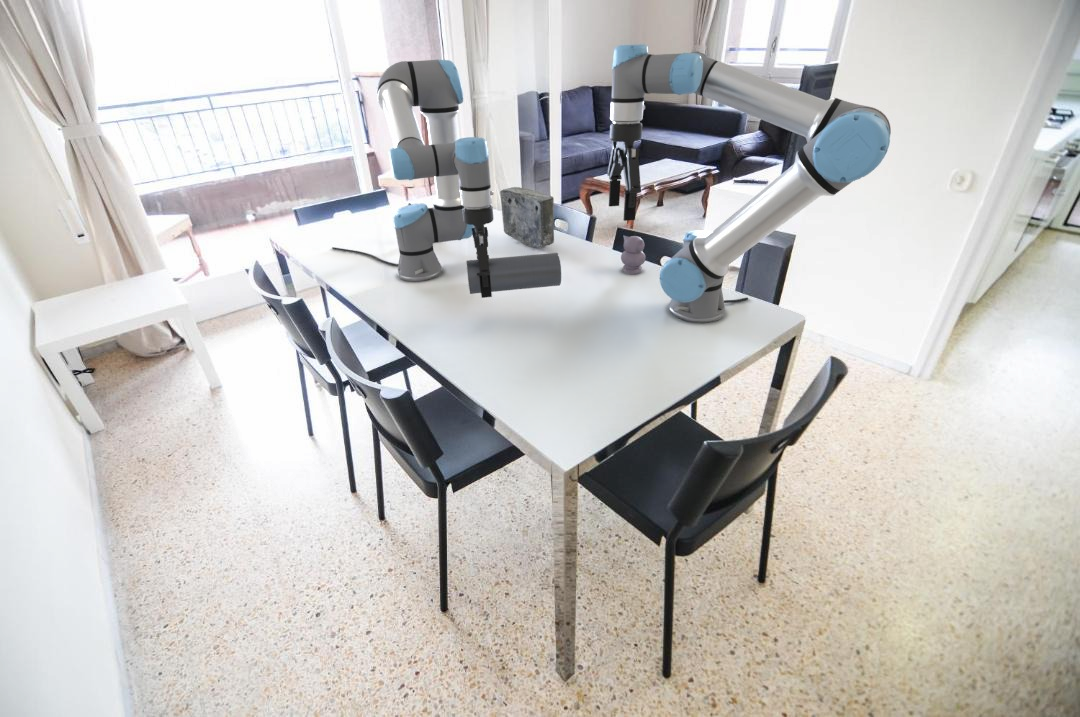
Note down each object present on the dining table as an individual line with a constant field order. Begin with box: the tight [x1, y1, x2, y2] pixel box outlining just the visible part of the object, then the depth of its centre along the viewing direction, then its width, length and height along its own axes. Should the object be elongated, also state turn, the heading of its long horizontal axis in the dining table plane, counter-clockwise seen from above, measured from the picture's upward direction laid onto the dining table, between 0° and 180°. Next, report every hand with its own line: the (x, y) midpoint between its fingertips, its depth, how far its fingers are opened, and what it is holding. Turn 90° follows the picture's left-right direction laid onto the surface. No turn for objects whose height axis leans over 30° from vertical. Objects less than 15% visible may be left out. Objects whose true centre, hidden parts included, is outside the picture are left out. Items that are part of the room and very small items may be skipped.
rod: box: [465, 252, 562, 295], centre depth 134 cm, size 24×9×9 cm, turn 99°
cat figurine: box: [620, 234, 646, 275], centre depth 168 cm, size 9×8×12 cm
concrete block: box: [499, 186, 555, 249], centre depth 194 cm, size 27×9×20 cm, turn 36°
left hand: (485, 289), depth 135 cm, fingers closed on rod, 9 cm apart
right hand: (621, 212), depth 128 cm, fingers open, 13 cm apart
